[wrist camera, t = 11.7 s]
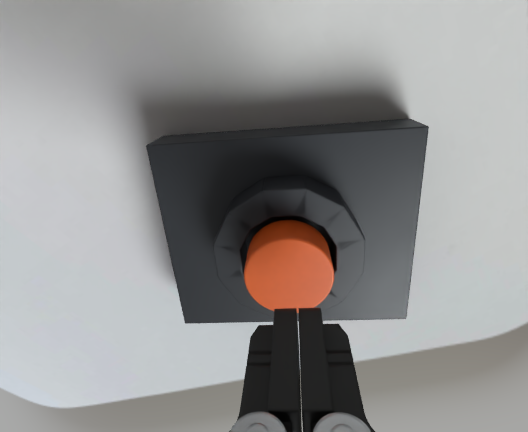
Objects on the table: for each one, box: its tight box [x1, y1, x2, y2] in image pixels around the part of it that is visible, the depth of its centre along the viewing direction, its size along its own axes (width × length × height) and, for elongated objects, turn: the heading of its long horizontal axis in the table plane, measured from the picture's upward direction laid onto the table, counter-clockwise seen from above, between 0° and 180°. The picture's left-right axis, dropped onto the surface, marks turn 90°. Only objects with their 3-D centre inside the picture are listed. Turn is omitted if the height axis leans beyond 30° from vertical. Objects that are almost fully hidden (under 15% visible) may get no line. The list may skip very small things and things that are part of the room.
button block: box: [146, 119, 429, 323], centre depth 16 cm, size 12×10×4 cm
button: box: [244, 220, 334, 313], centre depth 14 cm, size 4×4×2 cm
